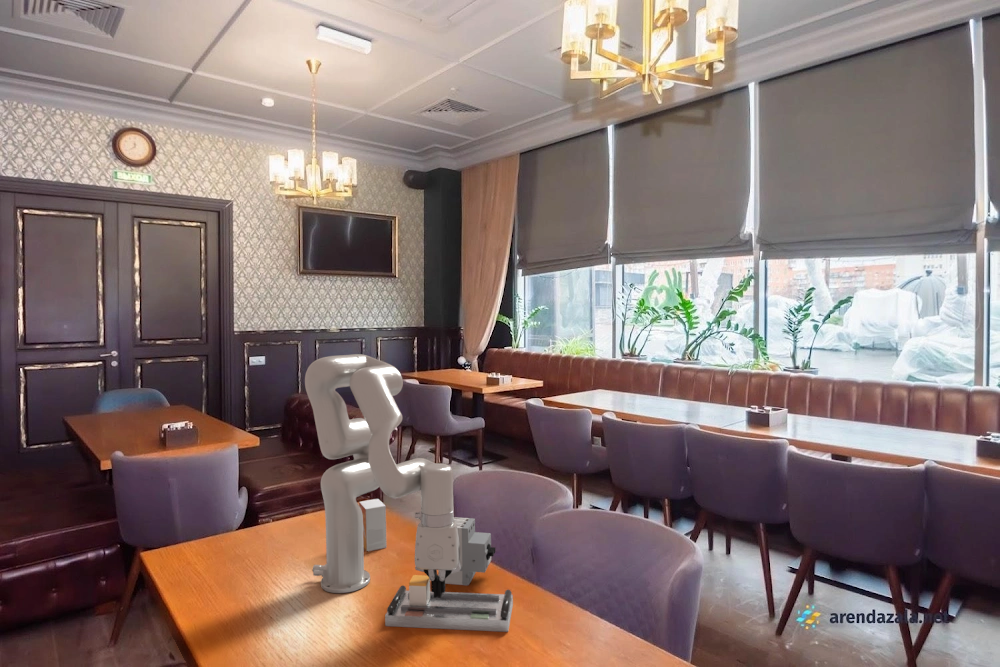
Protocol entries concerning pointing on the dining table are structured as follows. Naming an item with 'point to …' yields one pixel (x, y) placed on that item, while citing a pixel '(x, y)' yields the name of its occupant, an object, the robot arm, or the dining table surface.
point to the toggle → (419, 590)
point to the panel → (452, 611)
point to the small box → (373, 524)
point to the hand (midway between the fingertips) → (438, 595)
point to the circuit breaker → (471, 552)
